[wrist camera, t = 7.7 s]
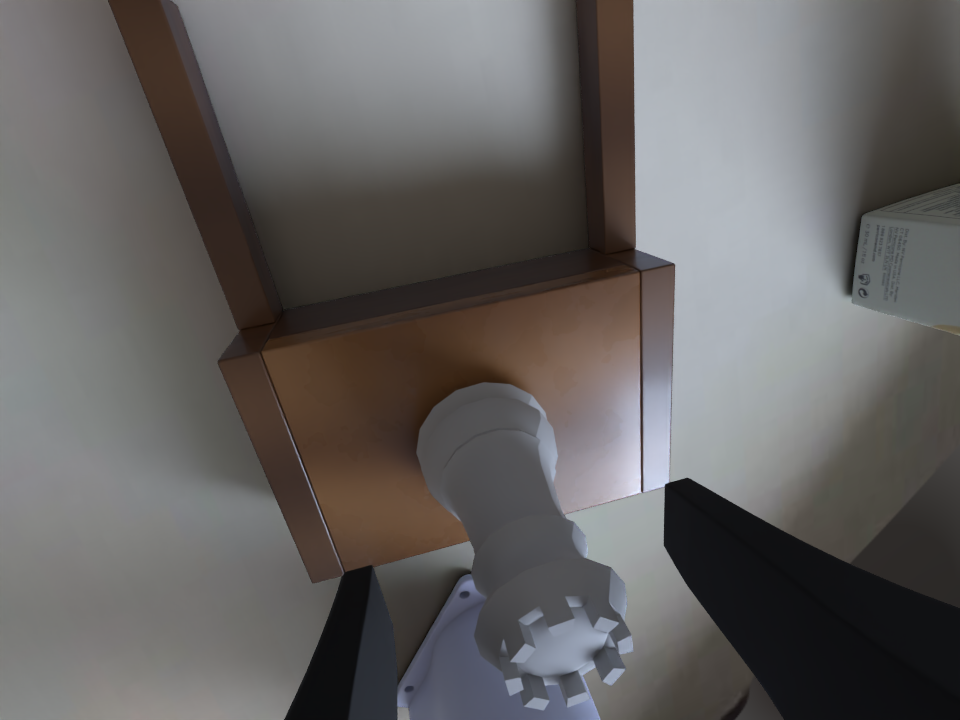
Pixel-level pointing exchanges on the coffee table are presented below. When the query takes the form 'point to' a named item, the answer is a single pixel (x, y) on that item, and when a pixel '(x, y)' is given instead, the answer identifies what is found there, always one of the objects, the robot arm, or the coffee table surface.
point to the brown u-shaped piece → (431, 328)
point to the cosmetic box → (912, 260)
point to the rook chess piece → (523, 545)
